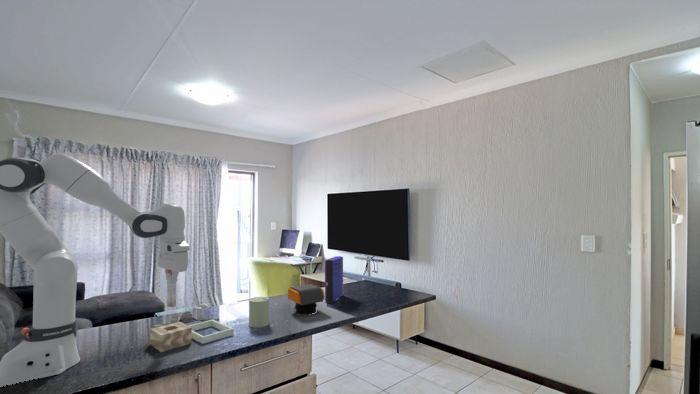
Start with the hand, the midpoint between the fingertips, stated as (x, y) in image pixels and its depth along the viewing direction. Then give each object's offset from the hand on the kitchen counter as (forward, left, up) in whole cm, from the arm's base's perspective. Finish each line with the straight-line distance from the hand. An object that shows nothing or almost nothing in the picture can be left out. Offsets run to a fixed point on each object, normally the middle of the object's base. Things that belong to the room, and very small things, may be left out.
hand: (171, 281), depth 133 cm
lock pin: (0, 0, -10) cm, 10 cm away
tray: (+15, 0, -25) cm, 29 cm away
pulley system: (+17, +24, -26) cm, 39 cm away
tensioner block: (0, 0, -25) cm, 25 cm away
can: (+37, -4, -25) cm, 45 cm away
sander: (+65, -1, -25) cm, 70 cm away
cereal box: (+92, +1, -25) cm, 96 cm away
